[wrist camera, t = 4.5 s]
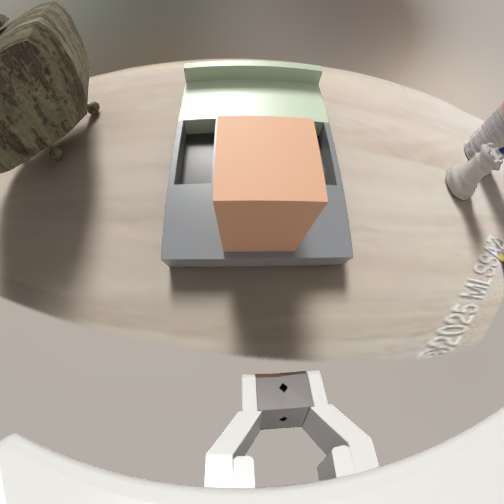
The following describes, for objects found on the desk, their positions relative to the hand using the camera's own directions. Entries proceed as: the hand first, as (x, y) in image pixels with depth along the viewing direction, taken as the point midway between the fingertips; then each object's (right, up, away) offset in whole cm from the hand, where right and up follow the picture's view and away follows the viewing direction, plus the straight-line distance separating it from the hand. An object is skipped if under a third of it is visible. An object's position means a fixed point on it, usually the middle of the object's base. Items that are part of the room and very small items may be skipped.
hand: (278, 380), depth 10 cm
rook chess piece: (+24, +13, +16) cm, 31 cm away
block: (-1, +7, +10) cm, 12 cm away
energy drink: (+31, +19, +17) cm, 40 cm away
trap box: (-1, +14, +14) cm, 20 cm away
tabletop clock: (-24, +18, +15) cm, 33 cm away
